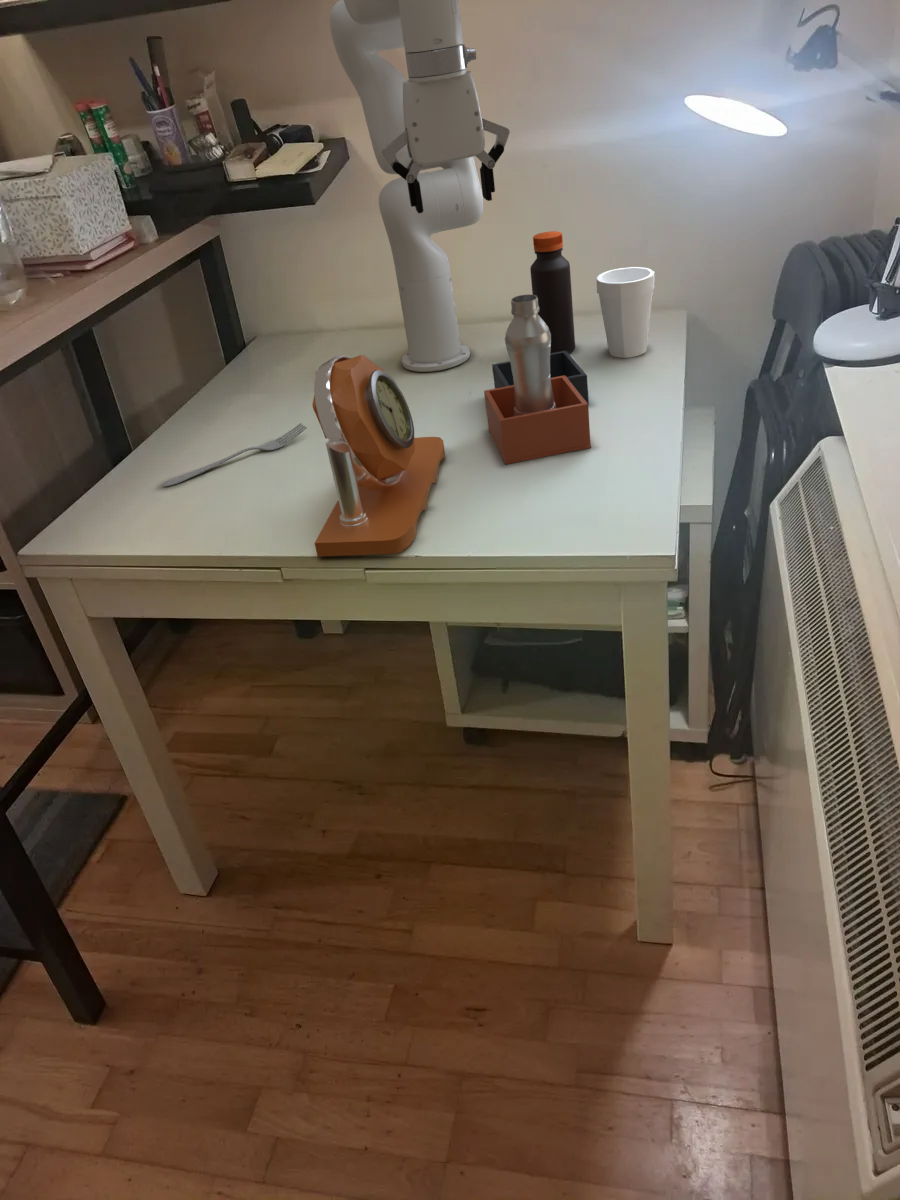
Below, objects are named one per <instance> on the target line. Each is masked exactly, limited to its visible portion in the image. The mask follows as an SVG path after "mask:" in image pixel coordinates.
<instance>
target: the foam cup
mask: <svg viewBox="0 0 900 1200" xmlns="http://www.w3.org/2000/svg"><path fill="white" fill-rule="evenodd" d="M595 280H596V293H597V294H598V297H599V304H600V308H601V309H600V310H601V315H602V320H603V325H604V331H605V336H606V342H607V347H608V348H607V349H608V350H609V354H610V355H611V356H612V357H615V358H620V359H621V358H624V359H626V358H635V357H638V356H642V355H643V354H645V353H646V352H647V350H648V349H647V347H648V343H649V332H650V324H651V323H650V322H651V313H652V304H653V294H654V288H655V285H656V283H655V282H656V281H655V271H654V270H653V269H651V268H648V267H642V266H628V267H620V268H615V269H614V268H613V269H611V270H607V271H603V272H602V273H600V274H598V275H597V277H596V279H595Z"/></svg>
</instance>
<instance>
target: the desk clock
mask: <svg viewBox="0 0 900 1200" xmlns="http://www.w3.org/2000/svg"><path fill="white" fill-rule="evenodd" d="M312 400H313V401H312V409H313V411H314V414H315V416H316V418H317V420H318V423H319V425H320V429H321V431H322V433H323V435H324V442H325V447H326V450H327V455H328V459H329V460H328V461H329V464H330V469H331V473H332V477H333V482H334V486H335V490H336V495H337V501H336V503H335V505H334V506H333V509H332V511H331V512H330V513H329V516H328V518H327V519H326V522H325V523H324V525H323V526H322V528H321V530H320V532H319V534H318V536H317V537H316V539H315V541H314V547H315V551H316V556H317V557H336V556H337V557H338V556H361V555H362V556H365V555H367V556H368V555H389V554H391V555H392V554H396V553H401V552H403V551H405V550H406V549H407V548H408V547H409V546H410V545H411V544H412V542H413V541H414V540H415V539H416V533H417V532H416V531H417V524H418V520H419V517H420V514H421V513H422V512H425V511H426V510H427V509H428V508H427V507H428V497H429V492H430V490H431V486H432V485H434V484H437V482H438V474H439V467H440V464H441V462H442V460H446V457H447V456H446V450H445V442H444V439H442V438H441V437H439V436H421V437H420V436H419V437H415V426H414V425H415V424H414V420H413V416H412V413H411V410H410V408H409V405H408V403H407V400H406V398H405V396H404V394H403V392H402V390H401V389H400V387H399V385H398V384H397V383H396V381H395V380H394V379H393V378H392V377H391V376H390V375H389V374H388V373H387V372H386V371H385V370H384V368H381V367H379V366H378V365H377V364H376V363H374V362H373V361H372V360H370V358H368V357H367V356H366V355H364V354H360V355H357V356H354V357H350V356H348V355H342V354H339V355H335V356H334V357H331V358H330V359H328V360H327V361H325V362H324V363H322V364H321V365H320V366H319V367H318V368H317V370H316V371H315V375H314V380H313V399H312Z"/></svg>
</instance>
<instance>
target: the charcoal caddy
mask: <svg viewBox="0 0 900 1200" xmlns="http://www.w3.org/2000/svg"><path fill="white" fill-rule="evenodd" d="M491 367H492V375H493V376H492V377H493V385H494V389H496V388H501V387H506V386H511V385H514V381H513V375H512V369H511V364H510V360H509V361H504V362H497V363H493V364H491ZM550 375H551V378H553V377H559V376H564V375H565V376H566V377H567V378H568V380H569V381H570V382H571V383H572V385H573V386H574V387H575V388H576V390H577V391H578V392H579V393H580V395H581V396H582V397H583V398H584V400H585V401H586V402H587V403H588V407H589V406H590V401H589V388H588V387H589V386H588V375H587V373H586V371H584V370H583V369H582V368H581V366H580V365H579V363H577V362H576V360H575V359H574V358H573V357H572V356H571V355H570V353H569V354H568V352H567V351H561V352H555V353H550Z"/></svg>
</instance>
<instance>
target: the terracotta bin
mask: <svg viewBox="0 0 900 1200" xmlns="http://www.w3.org/2000/svg"><path fill="white" fill-rule="evenodd" d="M551 385H552V391H553V397H554V402H555V405H556V408H555V409H550V410H545V411H540V412H535V413H529V414H524V415H519V416H514V407H515V400H514V385H511V386H506V387H501V388H496V389H495V388H491V389H486V390H483V396H484V403H485V411H486V420H487V428H488V433H489V435H490V437H491V439H492V441H493V443H494V445H495V447H496V448H497V451H498V453H499V455H500V457H501V458H502V461H503V463H504V464H505V465H511V464H515V463H520V462H526V461H531V460H535V459H541V458H546V457H551V456H556V455H560V454H567V453H571V452H576V451H582V450H587V449H591V447H592V445H591V429H590V428H591V427H590V411H589V406H588V403H587V402H586V401H585V400H584V398H583V397H582V396H581V395H580V393H579V392H578V391H577V390H576V388H575V387H574V386H573V385H572V383H571V382H570V381H569V380H568V378H567V377H566V376H565V375H564V376H559V377H553V378H551Z"/></svg>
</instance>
